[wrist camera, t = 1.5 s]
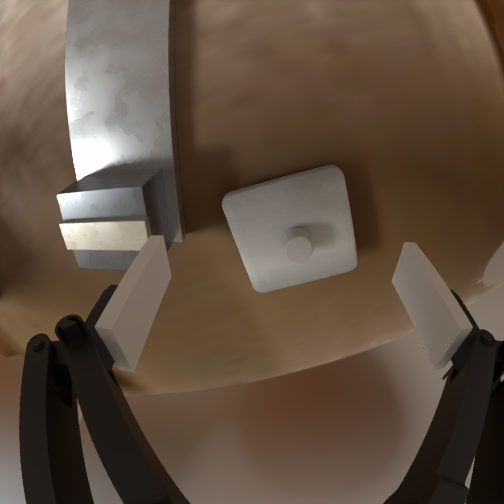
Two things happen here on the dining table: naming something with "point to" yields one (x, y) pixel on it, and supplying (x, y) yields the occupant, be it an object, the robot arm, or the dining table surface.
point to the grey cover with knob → (293, 228)
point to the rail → (121, 131)
